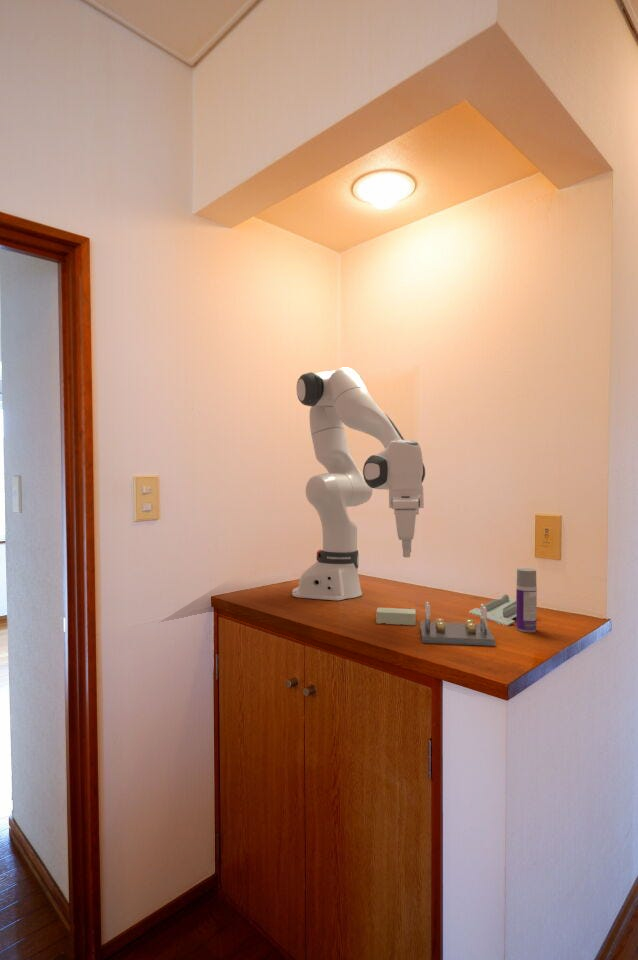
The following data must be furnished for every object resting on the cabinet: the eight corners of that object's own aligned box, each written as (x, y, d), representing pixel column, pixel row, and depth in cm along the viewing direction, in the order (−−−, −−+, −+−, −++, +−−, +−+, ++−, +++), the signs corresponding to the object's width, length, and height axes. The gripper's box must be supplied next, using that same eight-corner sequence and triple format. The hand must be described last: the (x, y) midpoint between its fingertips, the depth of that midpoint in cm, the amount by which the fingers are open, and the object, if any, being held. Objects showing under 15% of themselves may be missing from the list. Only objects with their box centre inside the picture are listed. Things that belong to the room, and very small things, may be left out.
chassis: (422, 642, 123) (422, 610, 123) (420, 627, 136) (420, 597, 136) (495, 646, 121) (495, 612, 121) (485, 629, 134) (485, 599, 134)
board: (376, 624, 140) (376, 612, 140) (377, 619, 145) (377, 607, 145) (415, 626, 138) (415, 613, 138) (415, 621, 143) (415, 609, 143)
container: (513, 627, 136) (513, 567, 136) (532, 627, 136) (532, 567, 136) (519, 632, 131) (520, 571, 131) (539, 632, 131) (539, 571, 131)
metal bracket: (502, 589, 156) (542, 599, 142) (506, 607, 156) (547, 620, 143) (463, 607, 150) (501, 620, 137) (468, 627, 151) (506, 642, 137)
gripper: (395, 501, 150) (396, 551, 150) (391, 502, 130) (392, 559, 130) (418, 501, 149) (419, 551, 149) (418, 501, 129) (419, 559, 128)
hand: (407, 555), depth 139 cm, fingers open, 8 cm apart
